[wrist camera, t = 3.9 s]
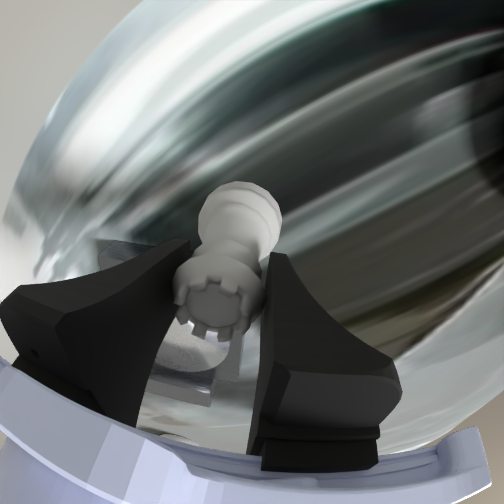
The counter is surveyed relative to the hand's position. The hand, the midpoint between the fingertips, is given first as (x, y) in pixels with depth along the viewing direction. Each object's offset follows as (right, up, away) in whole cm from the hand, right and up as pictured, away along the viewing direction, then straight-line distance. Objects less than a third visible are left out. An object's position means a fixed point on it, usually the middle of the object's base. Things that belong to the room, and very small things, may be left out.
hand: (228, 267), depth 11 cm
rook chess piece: (0, +3, +4) cm, 5 cm away
